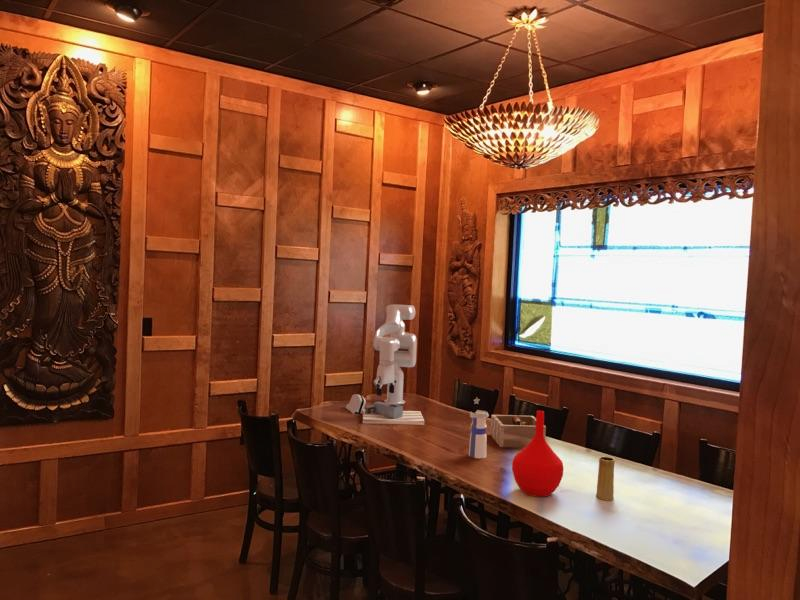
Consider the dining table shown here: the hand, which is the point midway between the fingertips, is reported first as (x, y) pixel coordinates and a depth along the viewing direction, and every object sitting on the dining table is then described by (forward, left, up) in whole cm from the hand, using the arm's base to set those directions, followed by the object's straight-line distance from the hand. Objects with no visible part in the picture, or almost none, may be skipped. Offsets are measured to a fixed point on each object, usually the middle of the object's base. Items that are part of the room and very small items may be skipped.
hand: (385, 394), depth 331 cm
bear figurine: (+39, +65, -14) cm, 77 cm away
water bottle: (+65, +38, -13) cm, 77 cm away
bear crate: (+39, +62, -13) cm, 75 cm away
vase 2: (+113, +76, -13) cm, 137 cm away
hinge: (-17, -16, -14) cm, 27 cm away
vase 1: (+109, +52, -13) cm, 122 cm away
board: (+1, +4, -13) cm, 14 cm away
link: (0, 0, -11) cm, 11 cm away
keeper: (-5, -7, -13) cm, 16 cm away
